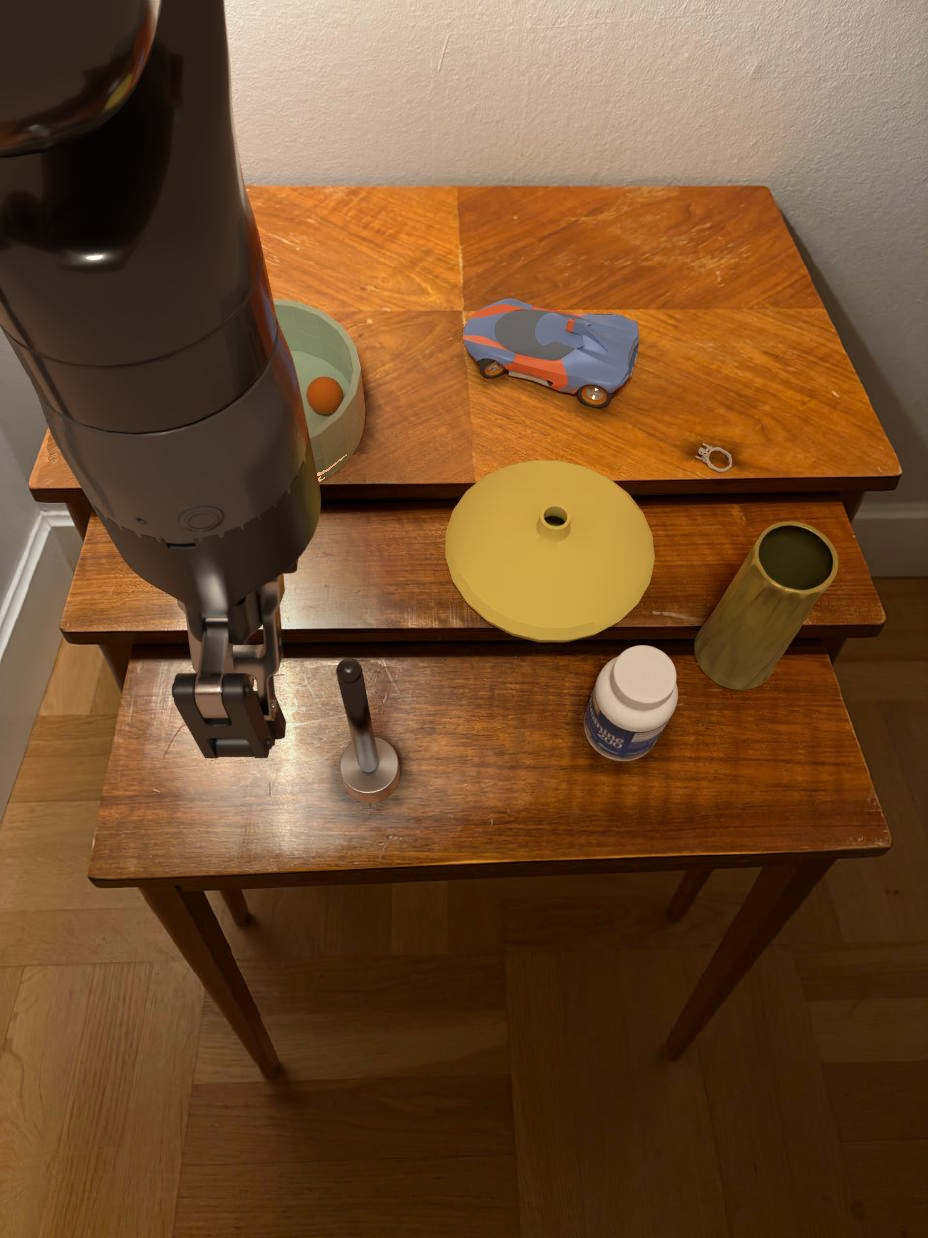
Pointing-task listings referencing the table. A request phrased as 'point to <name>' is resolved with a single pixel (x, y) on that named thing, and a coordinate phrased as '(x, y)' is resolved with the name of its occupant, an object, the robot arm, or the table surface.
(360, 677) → the rod with round foot
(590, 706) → the pill bottle
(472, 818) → the table surface
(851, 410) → the table surface
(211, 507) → the robot arm
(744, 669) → the vase
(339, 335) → the bowl
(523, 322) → the toy car
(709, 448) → the ring
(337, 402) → the ball
